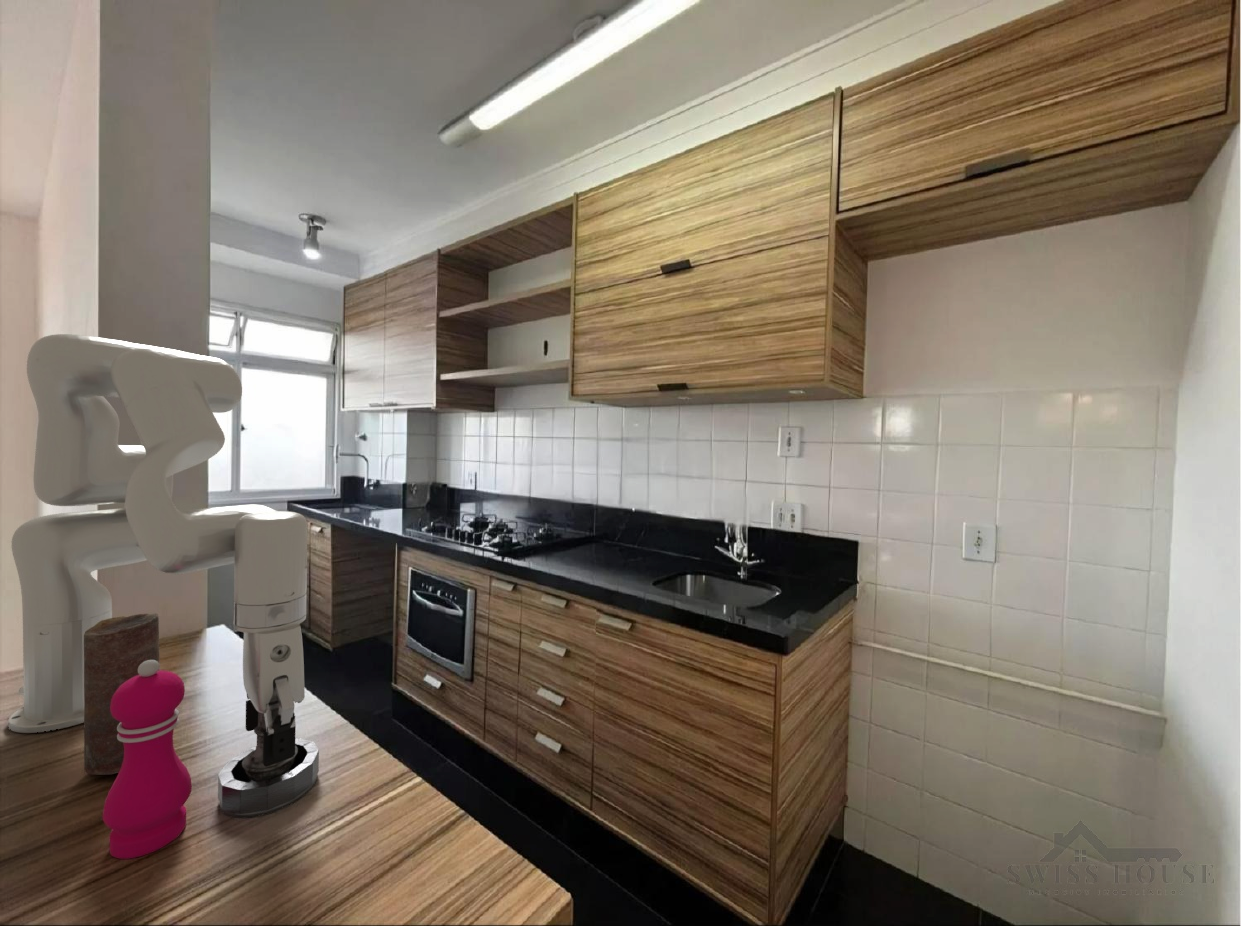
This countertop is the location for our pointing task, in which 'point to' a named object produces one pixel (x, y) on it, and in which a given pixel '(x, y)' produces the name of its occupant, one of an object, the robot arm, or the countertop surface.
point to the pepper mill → (147, 765)
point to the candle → (112, 682)
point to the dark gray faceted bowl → (267, 784)
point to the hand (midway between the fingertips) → (269, 742)
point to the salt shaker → (255, 758)
